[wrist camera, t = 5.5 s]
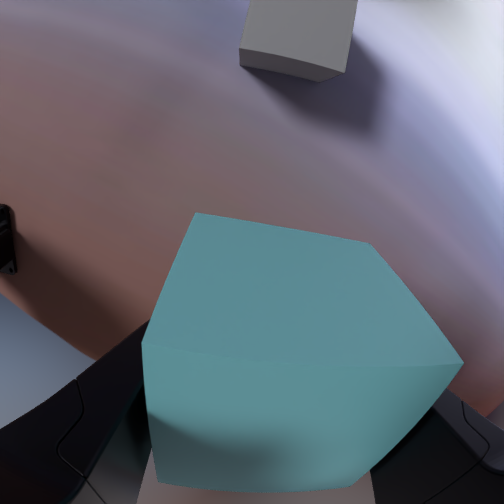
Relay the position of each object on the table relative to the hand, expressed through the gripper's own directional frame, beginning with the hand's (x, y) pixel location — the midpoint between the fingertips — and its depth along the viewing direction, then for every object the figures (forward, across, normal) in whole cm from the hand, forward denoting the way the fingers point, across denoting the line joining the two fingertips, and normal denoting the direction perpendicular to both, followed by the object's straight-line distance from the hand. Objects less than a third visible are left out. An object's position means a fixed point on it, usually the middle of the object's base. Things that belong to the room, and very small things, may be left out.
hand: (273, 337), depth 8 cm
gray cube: (+13, 0, -11) cm, 17 cm away
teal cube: (+2, 0, 0) cm, 2 cm away
